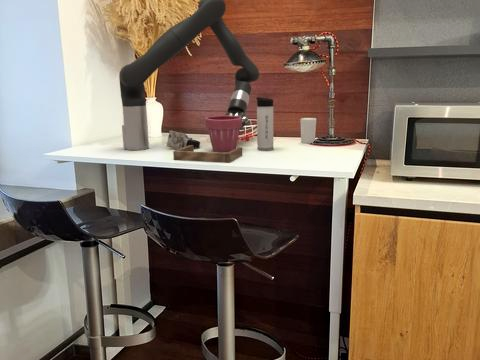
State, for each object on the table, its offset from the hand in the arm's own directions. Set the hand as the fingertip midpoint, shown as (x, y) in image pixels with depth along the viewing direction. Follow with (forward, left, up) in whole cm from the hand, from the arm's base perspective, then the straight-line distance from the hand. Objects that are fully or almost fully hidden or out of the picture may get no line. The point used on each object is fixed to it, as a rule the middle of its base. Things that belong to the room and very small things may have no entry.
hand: (229, 137), depth 181 cm
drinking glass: (+28, +19, -4) cm, 34 cm away
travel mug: (+15, -1, -4) cm, 16 cm away
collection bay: (0, -21, -4) cm, 21 cm away
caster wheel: (-17, -5, -5) cm, 18 cm away
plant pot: (0, -6, -4) cm, 7 cm away
